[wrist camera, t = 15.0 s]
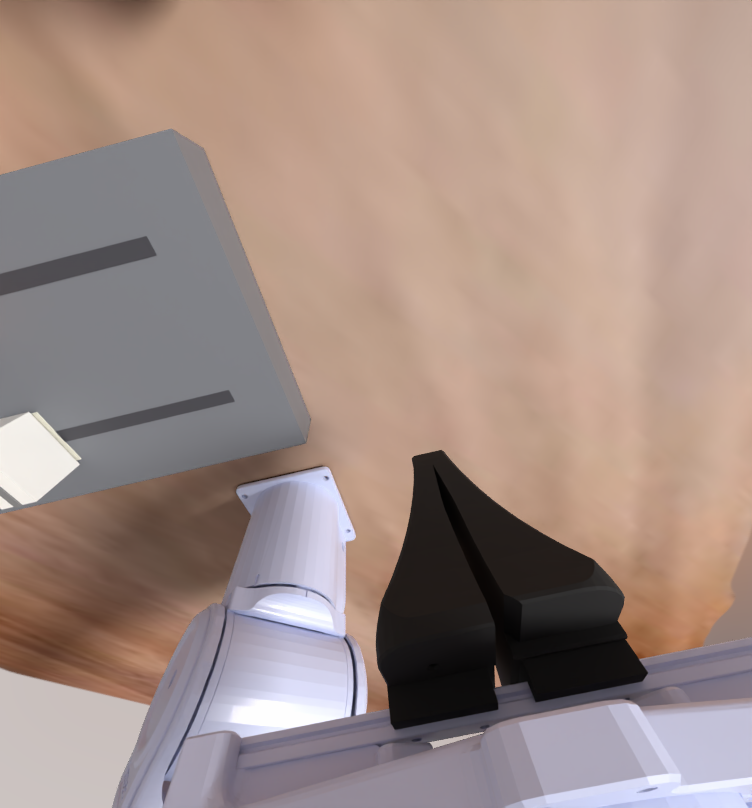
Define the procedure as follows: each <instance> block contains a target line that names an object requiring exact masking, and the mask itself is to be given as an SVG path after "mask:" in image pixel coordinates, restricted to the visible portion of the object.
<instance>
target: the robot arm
mask: <svg viewBox="0 0 752 808" xmlns="http://www.w3.org/2000/svg"><path fill="white" fill-rule="evenodd" d="M412 462H413V467H414V487H413V499H412V506H411V513H410V518H409V523H408V528H407V532H406V536H405V539H404V543H403V547H402V550H401V553H400V556H399V559H398V562H397V565H396V567H395V570H394V573H393V576H392V578H391V581H390V583H389V585H388V588H387V590H386V592H385V595H384V597H383V599H382V602H381V606H380V611H379V617H378V623H377V632H376V653H377V664H378V669H379V671H380V672H381V674H382V676H383V678H384V680H385V682H386V684H387V689H388V700H389V709H385V710H380V711H375V712H370V713H366V707H367V677H366V670H365V665H364V661H363V656H362V653H361V650H360V647H359V645H358V643H357V641H356V640H355V639H354V638H353V637H352V636H351V635H349V634H345V614H343V612H344V609H345V602H346V542H347V541H351V540H354V539H355V537H356V535H355V531H354V529H353V526H352V524H351V521H350V519H349V516H348V514H347V511H346V509H345V506H344V503H343V501H342V498H341V496H340V493H339V491H338V488H337V486H336V483H335V481H334V478H333V476H332V473H331V471H330V469H329V468H328V467H319V468H314V469H310V470H305V471H301V472H297V473H292V474H288V475H283V476H279V477H275V478H270V479H266V480H261V481H257V482H253V483H248V484H244V485H240V486H238V487H237V490H236V493H237V495H238V496H239V498H240V500H241V501H242V503H243V504H244V506H245V507H246V509H247V510H248V512H249V513H250V515H251V518H250V521H249V524H248V527H247V530H246V533H245V536H244V539H243V542H242V544H241V547H240V550H239V553H238V556H237V559H236V562H235V565H234V568H233V571H232V574H231V577H230V580H229V583H228V586H227V588H226V591H225V594H224V597H223V600H222V603H221V604H217V603H212V604H211V605H209V606H208V607H207V608H206V609H205V610H203V611H202V612H200V613H198V614H197V615H196V616H195V617H194V618H193V620H192V621H191V623H190V624H189V626H188V628H187V629H186V631H185V633H184V635H183V636H182V638H181V640H180V642H179V644H178V646H177V648H176V650H175V652H174V654H173V656H172V658H171V660H170V662H169V664H168V666H167V668H166V670H165V673H164V675H163V677H162V679H161V681H160V684H159V686H158V688H157V691H156V693H155V695H154V698H153V700H152V702H151V705H150V708H149V710H148V712H147V715H146V718H145V720H144V723H143V726H142V728H141V731H140V734H139V737H138V740H137V743H136V746H135V748H134V750H133V753H132V755H131V757H130V759H129V761H128V764H127V766H126V768H125V770H124V772H123V775H122V777H121V780H120V782H119V785H118V789H117V792H116V795H115V799H114V802H113V807H112V808H752V637H749V638H744V639H739V640H734V641H729V642H724V643H719V644H714V645H709V646H703V647H698V648H693V649H688V650H683V651H678V652H673V653H668V654H663V655H658V656H653V657H648V658H643V659H638V657H637V656H636V654H635V653H634V651H633V650H632V648H631V647H630V645H629V644H628V643H627V641H626V640H625V639H627V634H626V632H625V631H624V629H623V628H622V627H621V625H620V624H619V622H618V621H617V620H618V618H619V615H620V613H621V610H622V608H623V605H624V598H625V597H624V595H623V593H622V591H621V590H620V589H619V587H618V586H617V585H616V584H615V582H614V581H613V580H612V579H611V577H610V576H609V575H608V574H607V573H606V572H605V571H604V570H603V569H602V568H601V567H600V566H599V565H598V564H597V563H596V561H595V560H593V559H591V558H589V557H587V556H585V555H583V554H581V553H579V552H577V551H575V550H573V549H570V548H568V547H566V546H564V545H562V544H561V543H559V542H557V541H555V540H553V539H552V538H550V537H548V536H546V535H544V534H543V533H541V532H539V531H538V530H536V529H534V528H533V527H531V526H530V525H528V524H526V523H525V522H523V521H521V520H520V519H518V518H517V517H516V516H514V515H513V514H511V513H510V512H508V511H507V510H506V509H504V508H503V507H501V506H500V505H499V504H497V503H496V502H495V501H494V500H492V499H491V498H490V497H489V496H487V495H486V494H485V493H484V492H483V491H482V490H480V489H479V488H478V487H477V486H476V485H475V484H474V483H473V482H472V481H471V480H469V479H468V478H467V477H466V476H465V475H464V474H463V473H462V472H461V471H460V470H459V469H458V468H457V466H456V465H455V464H454V463H453V462H452V461H451V460H450V459H449V457H448V456H447V455H446V454H445V452H444V451H442V450H439V451H435V452H430V453H426V454H421V455H417V456H414V457H413V458H412ZM324 476H328V477H324ZM244 494H245V495H244ZM494 665H496V668H497V672H498V675H499V678H500V682H501V685H502V687H496V688H495V674H494ZM484 731H485V732H484ZM479 732H484V733H483V734H480V735H477V736H473V737H470V738H467V739H463V740H460V741H457V742H454V743H450V744H447V745H444V746H440V747H437V748H434V749H433V747H432V745H431V744H430V743H427V742H432V741H437V740H443V739H448V738H453V737H458V736H463V735H468V734H474V733H479Z"/></svg>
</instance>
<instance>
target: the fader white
mask: <svg viewBox="0 0 752 808" xmlns="http://www.w3.org/2000/svg"><path fill="white" fill-rule="evenodd" d="M79 465H80V464H79V463H78V462H77V461H76V460H75V459H74V458H73V457H72V456H71V455H70V454H69V453H68V452H67V450H66V449H65V448H64V447H63V446H62V445H61V444H60V443H59V442H58V441H57V440H56V439H55V438H54V437H53V436H52V435H51V434H50V433H49V432H48V431H47V430H46V429H45V428H44V427H43V426H42V425H41V424H40V423H39V422H38V421H37V420H36V418H35V417H34V416H33V415H32V414H31V413H30V412H26V413H22V414H18V415H14V416H10V417H6V418H1V419H0V508H1V509H2V510H3V509H7V508H11V507H15V508H16V507H20V506H23V505H24V504H29V503H33V502H37V501H38V500H39V499H40V498H41V497H43V496H44V495H45V494H46V493H47V492H48V491H50V490H51V489H52V488H53V487H54V486H55V485H57V484H58V483H59V482H60V481H61V480H62V479H64V478H65V477H66V476H67V475H68V474H69V473H71V472H72V471H73V470H74V469H75V468H76V467H78V466H79Z"/></svg>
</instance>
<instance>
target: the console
mask: <svg viewBox="0 0 752 808" xmlns="http://www.w3.org/2000/svg"><path fill="white" fill-rule="evenodd" d="M26 412H30V413H31V414H32V415H33V416H34V417H35V418H36V420H37V421H38V422H39V423H40V424H41V425H42V426H43V427H44V428H45V429H46V430H47V431H48V432H49V433H50V434H51V435H52V436H53V437H54V438H55V439H56V440H57V441H58V442H59V443H60V444H61V445H62V446H63V447H64V448H65V449H66V450H67V452H68V453H69V454H70V455H71V456H72V457H73V458H74V459H75V460H76V461H77V462H78V463H79V464H80V465H79V466H78V467H76V468H75V469H74V470H73V471H72V472H71V473H69V474H68V475H67V476H66V477H65V478H64V479H62V480H61V481H60V482H59V483H58V484H57V485H55V486H54V487H53V488H52V489H51V490H50V491H48V492H47V493H46V494H45V495H44V496H43V497H41V498H40V499H39V500H38V501H37V502H33V503H29V504H24V505H23V506H20V507H16V508H15V507H11V508H7V509H3V510H2V509H1V508H0V514H2V513H6V512H10V511H15V510H19V509H23V508H28V507H32V506H36V505H41V504H45V503H49V502H54V501H58V500H62V499H67V498H71V497H76V496H80V495H84V494H89V493H93V492H97V491H102V490H106V489H110V488H115V487H119V486H123V485H128V484H132V483H136V482H141V481H145V480H149V479H154V478H158V477H162V476H167V475H171V474H175V473H180V472H184V471H188V470H193V469H197V468H201V467H206V466H210V465H214V464H219V463H223V462H227V461H232V460H236V459H240V458H245V457H249V456H253V455H258V454H262V453H266V452H271V451H275V450H279V449H284V448H288V447H292V446H297V445H301V444H305V443H306V442H307V437H308V431H309V426H310V421H311V418H310V415H309V413H308V410H307V408H306V405H305V403H304V400H303V398H302V395H301V393H300V390H299V388H298V385H297V383H296V380H295V378H294V375H293V373H292V370H291V368H290V365H289V363H288V360H287V357H286V355H285V352H284V350H283V347H282V345H281V342H280V340H279V337H278V335H277V332H276V330H275V327H274V325H273V322H272V320H271V317H270V315H269V312H268V310H267V307H266V305H265V302H264V299H263V297H262V294H261V292H260V289H259V287H258V284H257V282H256V279H255V277H254V274H253V272H252V269H251V267H250V264H249V262H248V259H247V257H246V254H245V252H244V249H243V247H242V244H241V241H240V239H239V236H238V234H237V231H236V229H235V226H234V224H233V221H232V219H231V216H230V214H229V211H228V209H227V206H226V204H225V201H224V199H223V196H222V194H221V191H220V188H219V186H218V183H217V181H216V178H215V176H214V173H213V171H212V168H211V166H210V163H209V161H208V158H207V156H206V153H205V151H204V148H202V147H201V146H199V145H197V144H196V143H194V142H192V141H191V140H189V139H188V138H186V137H184V136H183V135H181V134H179V133H178V132H176V131H175V130H173V129H168V130H165V131H161V132H157V133H153V134H150V135H146V136H142V137H139V138H135V139H131V140H128V141H124V142H120V143H116V144H113V145H109V146H105V147H102V148H98V149H94V150H91V151H87V152H83V153H80V154H76V155H72V156H68V157H65V158H61V159H57V160H54V161H50V162H46V163H43V164H39V165H35V166H32V167H28V168H24V169H20V170H17V171H13V172H9V173H6V174H2V175H0V419H1V418H6V417H10V416H14V415H18V414H22V413H26Z"/></svg>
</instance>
